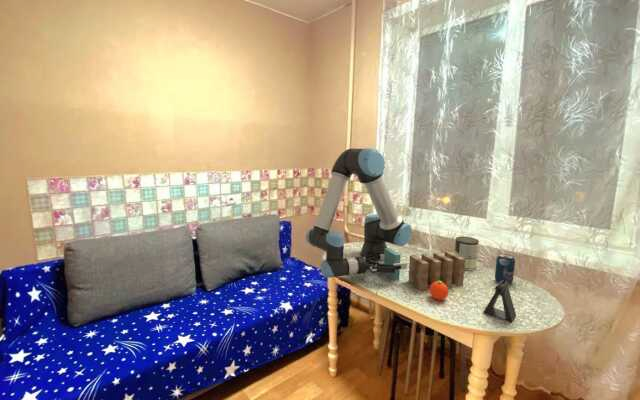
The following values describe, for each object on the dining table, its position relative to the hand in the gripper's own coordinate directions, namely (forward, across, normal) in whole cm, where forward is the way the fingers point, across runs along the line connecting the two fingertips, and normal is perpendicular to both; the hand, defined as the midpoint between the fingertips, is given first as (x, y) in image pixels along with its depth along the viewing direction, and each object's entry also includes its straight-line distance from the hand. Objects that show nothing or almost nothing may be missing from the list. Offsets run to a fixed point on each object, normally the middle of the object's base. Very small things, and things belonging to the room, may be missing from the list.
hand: (399, 260), depth 140 cm
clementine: (+4, +24, -7) cm, 25 cm away
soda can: (+41, +19, -7) cm, 46 cm away
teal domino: (-4, 0, -7) cm, 8 cm away
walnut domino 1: (+2, +12, -7) cm, 14 cm away
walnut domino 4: (+20, +12, -7) cm, 25 cm away
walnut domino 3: (+14, +12, -7) cm, 20 cm away
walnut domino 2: (+8, +12, -7) cm, 16 cm away
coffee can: (+37, 0, -7) cm, 38 cm away
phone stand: (+17, +40, -7) cm, 44 cm away
